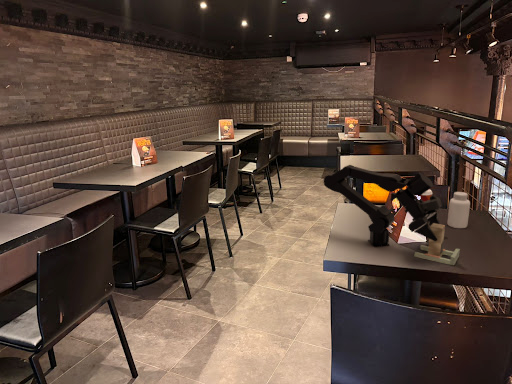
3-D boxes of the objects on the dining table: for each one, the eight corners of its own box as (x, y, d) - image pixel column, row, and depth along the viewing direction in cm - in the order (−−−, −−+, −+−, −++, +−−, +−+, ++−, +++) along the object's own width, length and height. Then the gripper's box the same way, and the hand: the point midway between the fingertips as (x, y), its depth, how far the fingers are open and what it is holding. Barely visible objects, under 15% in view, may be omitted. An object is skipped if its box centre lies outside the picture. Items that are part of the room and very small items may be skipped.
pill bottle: (466, 229, 160) (470, 196, 156) (446, 227, 164) (449, 194, 160) (467, 224, 166) (471, 192, 162) (448, 221, 170) (451, 190, 166)
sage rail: (414, 256, 137) (414, 249, 136) (421, 248, 143) (421, 241, 142) (453, 265, 129) (454, 257, 128) (458, 256, 135) (459, 249, 134)
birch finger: (427, 256, 136) (430, 226, 133) (430, 253, 139) (433, 223, 136) (440, 259, 134) (443, 228, 130) (442, 255, 137) (445, 225, 133)
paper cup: (432, 221, 171) (434, 192, 167) (414, 221, 173) (416, 192, 169) (428, 216, 178) (430, 188, 175) (411, 215, 180) (413, 187, 176)
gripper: (420, 196, 126) (453, 233, 122) (434, 184, 139) (464, 217, 136) (395, 214, 132) (425, 249, 129) (411, 201, 146) (439, 232, 143)
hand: (439, 236), depth 134 cm, fingers open, 9 cm apart
